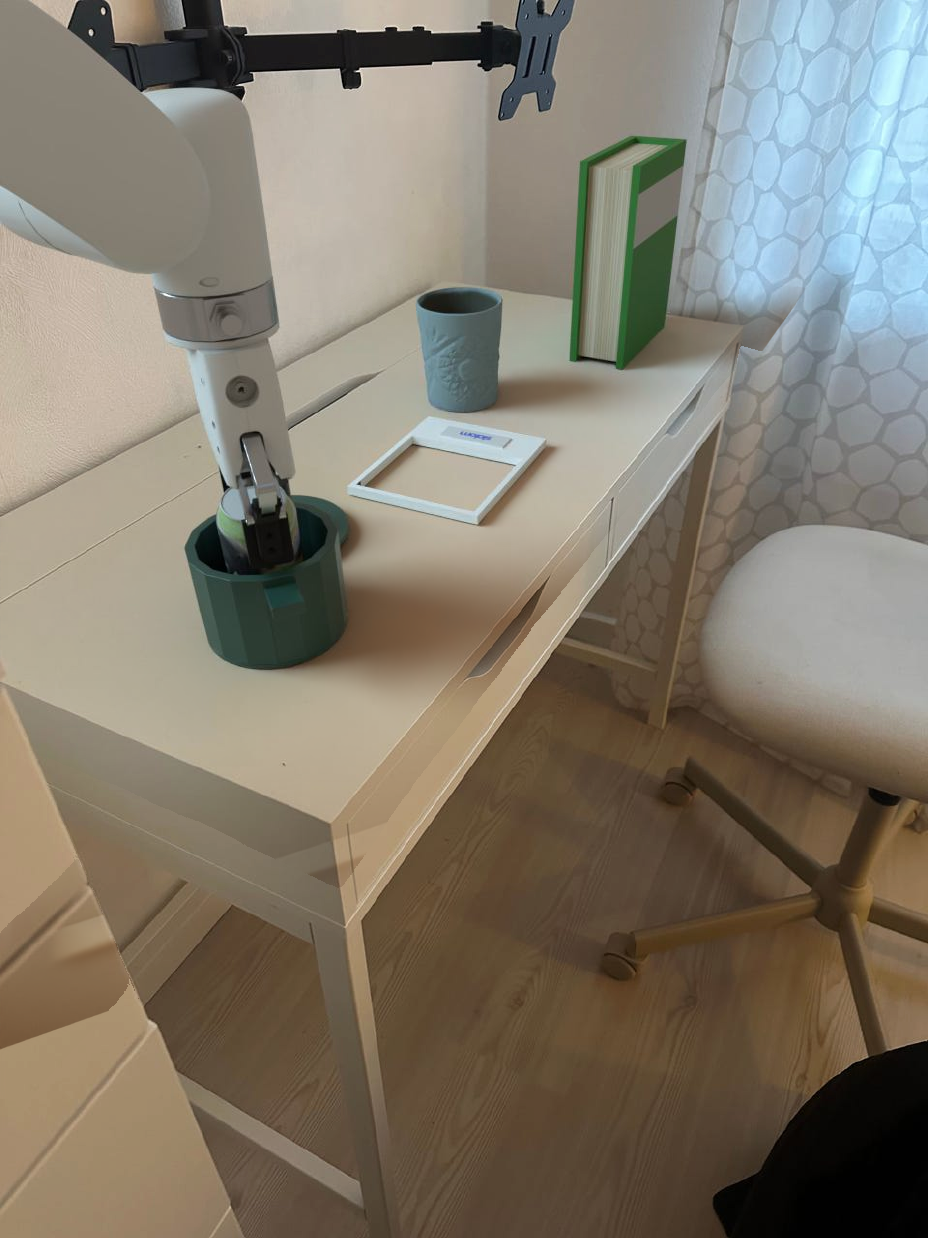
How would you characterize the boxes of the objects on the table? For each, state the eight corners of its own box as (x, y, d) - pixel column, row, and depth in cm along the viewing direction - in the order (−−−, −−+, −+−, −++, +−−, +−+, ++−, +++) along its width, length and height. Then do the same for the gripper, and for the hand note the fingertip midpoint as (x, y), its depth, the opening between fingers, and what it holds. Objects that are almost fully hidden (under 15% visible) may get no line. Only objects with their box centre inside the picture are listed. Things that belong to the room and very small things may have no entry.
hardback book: (622, 369, 116) (640, 166, 101) (569, 360, 119) (580, 161, 104) (664, 326, 128) (686, 139, 114) (615, 318, 131) (631, 135, 116)
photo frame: (546, 437, 98) (477, 514, 85) (546, 446, 99) (477, 524, 86) (428, 414, 103) (346, 484, 91) (429, 423, 104) (348, 494, 91)
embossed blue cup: (478, 421, 105) (477, 319, 97) (404, 405, 108) (398, 306, 101) (515, 389, 112) (517, 292, 104) (445, 375, 116) (442, 280, 108)
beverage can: (296, 582, 78) (276, 459, 71) (325, 628, 73) (306, 500, 66) (226, 602, 76) (198, 478, 69) (250, 651, 71) (223, 522, 64)
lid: (229, 588, 79) (216, 529, 75) (206, 520, 88) (193, 464, 84) (366, 556, 82) (360, 498, 79) (330, 494, 92) (323, 439, 88)
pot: (226, 707, 67) (204, 617, 61) (192, 586, 79) (171, 502, 74) (374, 667, 70) (365, 578, 65) (319, 556, 83) (307, 474, 77)
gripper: (307, 343, 53) (336, 579, 64) (249, 266, 66) (281, 473, 76) (178, 362, 51) (230, 604, 61) (145, 279, 64) (192, 491, 74)
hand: (258, 531), depth 69 cm, fingers open, 9 cm apart
